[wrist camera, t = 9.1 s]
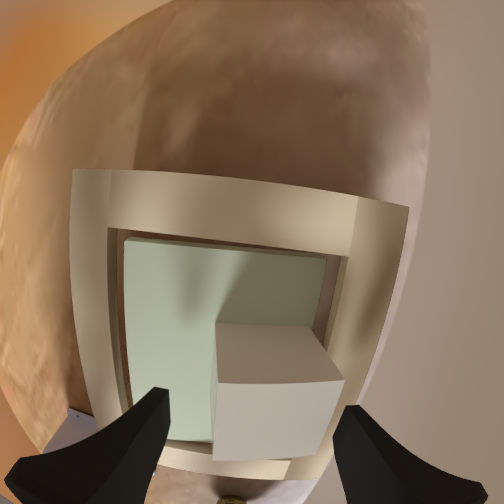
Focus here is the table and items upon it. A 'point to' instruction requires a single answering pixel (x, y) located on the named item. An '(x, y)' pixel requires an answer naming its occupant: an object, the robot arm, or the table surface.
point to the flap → (204, 313)
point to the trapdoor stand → (242, 231)
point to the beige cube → (269, 392)
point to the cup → (231, 500)
